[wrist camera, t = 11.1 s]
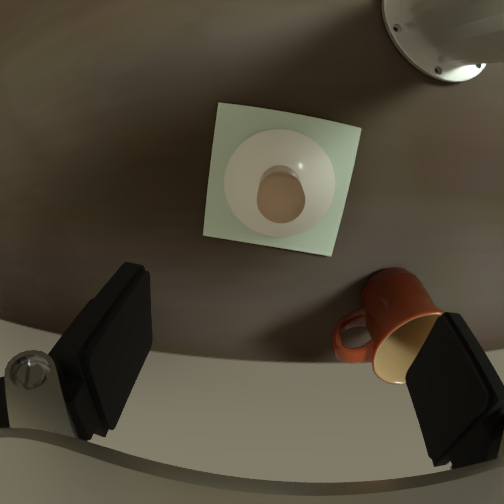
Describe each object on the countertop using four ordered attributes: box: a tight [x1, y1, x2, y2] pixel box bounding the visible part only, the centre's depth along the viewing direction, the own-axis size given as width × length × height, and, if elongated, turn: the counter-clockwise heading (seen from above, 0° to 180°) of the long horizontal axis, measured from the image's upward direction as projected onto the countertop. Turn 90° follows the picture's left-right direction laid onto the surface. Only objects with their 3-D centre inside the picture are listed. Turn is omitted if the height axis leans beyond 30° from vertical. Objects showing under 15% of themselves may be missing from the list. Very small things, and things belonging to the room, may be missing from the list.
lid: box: [224, 129, 335, 237], centre depth 26 cm, size 10×10×6 cm
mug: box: [332, 267, 445, 384], centre depth 29 cm, size 12×9×10 cm
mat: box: [203, 103, 361, 256], centre depth 29 cm, size 13×13×1 cm
